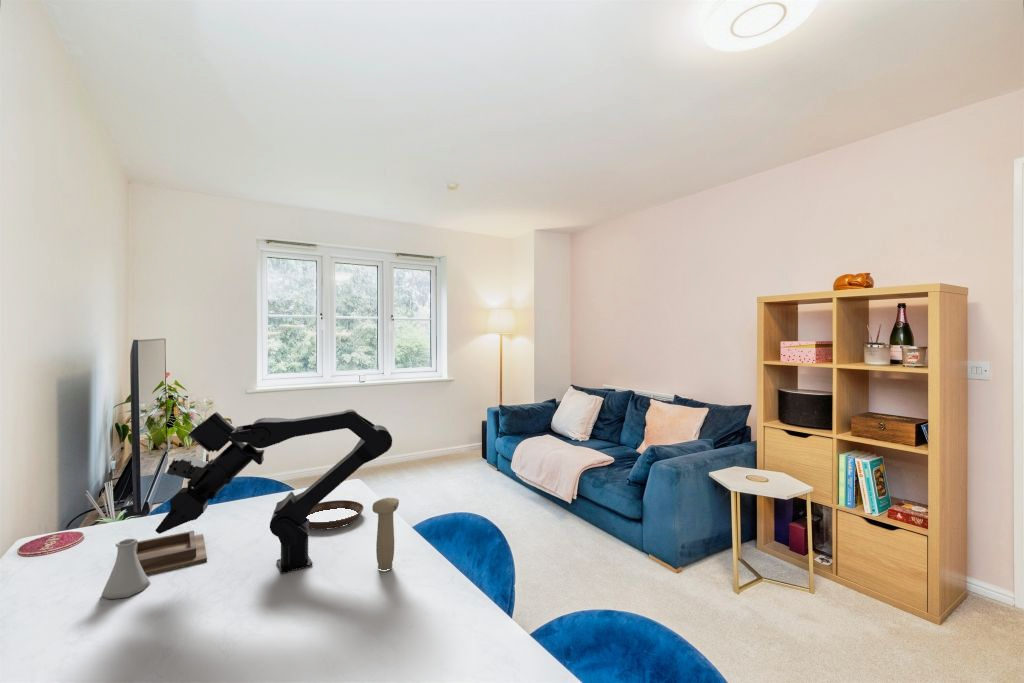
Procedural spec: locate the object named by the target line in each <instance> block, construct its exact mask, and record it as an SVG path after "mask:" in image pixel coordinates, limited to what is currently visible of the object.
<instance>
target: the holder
mask: <svg viewBox="0 0 1024 683" xmlns="http://www.w3.org/2000/svg"><path fill="white" fill-rule="evenodd" d="M135 550H136V554H137V558H138V560H139V562H140V564H141V566H142V568H143V570H144V572H145V574H146V576H149V575H155V574H157V573H158V574H159V573H162V572H166V571H167V572H168V571H172V570H175V569H179V568H184V567H189V566H193V565H197V563H198V564H201V562H202V563H206V562H208V555H207V551H206V550H207V548H206V543H205V537H204V533H201V534H195V530H191V531H184V532H181V533H175V534H170V535H165V536H160V537H154V538H150V539H145V540H140V541H137V543H136V544H135ZM188 565H189V566H188ZM171 569H172V570H171Z"/></svg>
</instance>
